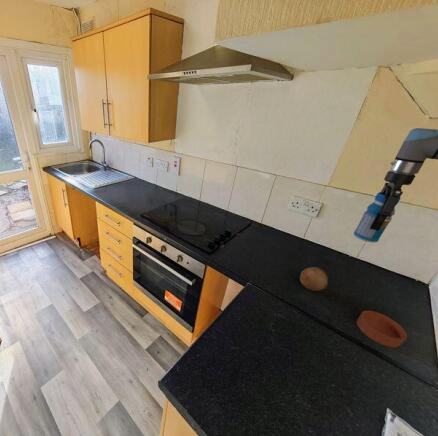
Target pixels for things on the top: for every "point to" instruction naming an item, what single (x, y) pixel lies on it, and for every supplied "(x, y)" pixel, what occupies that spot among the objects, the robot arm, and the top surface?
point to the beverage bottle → (368, 217)
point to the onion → (314, 279)
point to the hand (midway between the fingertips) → (372, 225)
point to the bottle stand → (381, 329)
